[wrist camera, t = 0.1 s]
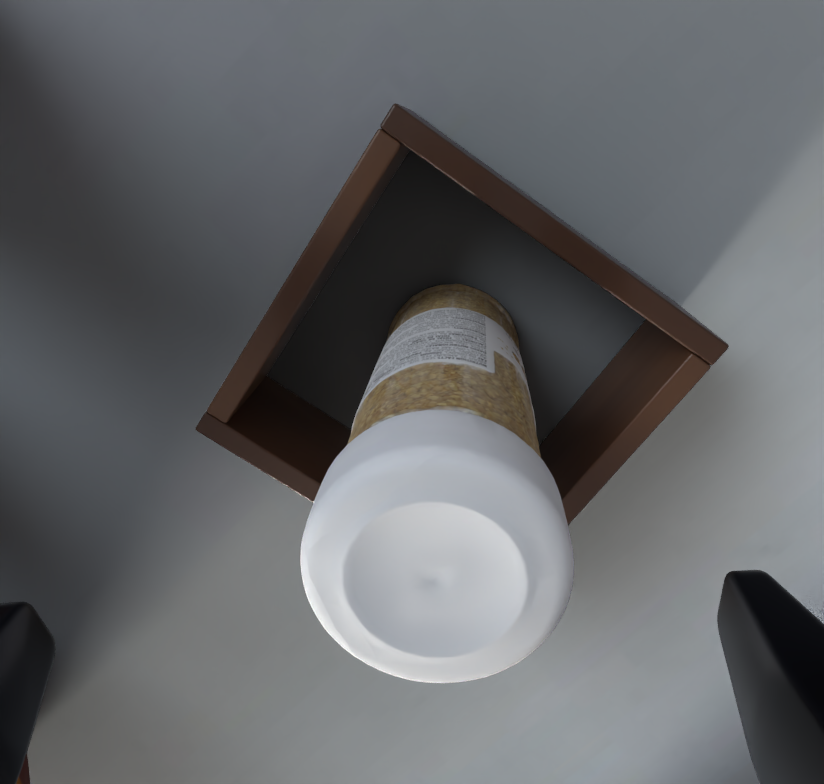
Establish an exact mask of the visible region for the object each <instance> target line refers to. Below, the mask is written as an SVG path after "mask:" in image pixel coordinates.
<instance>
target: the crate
mask: <svg viewBox="0 0 824 784" xmlns="http://www.w3.org/2000/svg"><path fill="white" fill-rule="evenodd" d="M410 150H411V151H413V152H414V153H416V154H417V155H418V156H420V157H421V158H422V159H424V160H425V161H427V162H428V163H429V164H431V165H432V166H434V167H435V168H436V169H438V170H439V171H441V172H442V173H443V174H445V175H446V176H448V177H449V178H450V179H452V180H453V181H455V182H456V183H457V184H459V185H460V186H461V187H463V188H464V189H466V190H467V191H468V192H470V193H471V194H473V195H474V196H475V197H477V198H478V199H480V200H481V201H482V202H484V203H485V204H487V205H488V206H489V207H491V208H492V209H494V210H495V211H496V212H498V213H499V214H500V215H502V216H503V217H505V218H506V219H507V220H509V221H510V222H512V223H513V224H514V225H516V226H517V227H519V228H520V229H521V230H523V231H524V232H526V233H527V234H528V235H530V236H531V237H532V238H534V239H535V240H537V241H538V242H539V243H541V244H542V245H544V246H545V247H546V248H548V249H549V250H551V251H552V252H553V253H555V254H556V255H558V256H559V257H560V258H562V259H563V260H565V261H566V262H567V263H569V264H570V265H571V266H573V267H574V268H576V269H577V270H578V271H580V272H581V273H583V274H584V275H585V276H587V277H588V278H590V279H591V280H592V281H594V282H595V283H597V284H598V285H599V286H601V287H602V288H604V289H605V290H606V291H608V292H609V293H610V294H612V295H613V296H615V297H616V298H617V299H619V300H620V301H622V302H623V303H624V304H626V305H627V306H629V307H630V308H631V309H633V310H634V311H636V312H637V313H638V314H640V315H641V316H642V317H644V318H645V319H646V320H645V321H644V323H643V324H642V325H641V326H640V327H639V328H638V330H637V331H636V332H635V333H634V334H633V336H632V337H631V338H630V339H629V340H628V342H627V343H626V344H625V345H624V346H623V348H622V349H621V350H620V351H619V352H618V353H617V355H616V356H615V357H614V358H613V359H612V361H611V362H610V363H609V364H608V365H607V367H606V368H605V369H604V370H603V371H602V373H601V374H600V375H599V376H598V377H597V378H596V380H595V381H594V382H593V383H592V384H591V386H590V387H589V388H588V389H587V390H586V392H585V393H584V394H583V395H582V396H581V398H580V399H579V400H578V401H577V402H576V403H575V405H574V406H573V407H572V408H571V409H570V411H569V412H568V413H567V414H566V415H565V417H564V418H563V419H562V420H561V421H560V423H559V424H558V425H557V426H556V427H555V428H554V430H553V431H552V432H551V433H550V434H549V436H548V437H547V438H546V439H545V440H544V442H543V443H542V444H541V445H540V446H539V450H540V454H541V459H542V460H543V461H544V463H545V464H546V466H547V468H548V469H549V471H550V472H551V474H552V476H553V478H554V480H555V483H556V485H557V487H558V490H559V493H560V496H561V500H562V504H563V508H564V512H565V516H566V519H567V523H568V525H569V523H570V522H571V521H572V520H573V519H574V518H575V517H576V516H577V515H578V514H579V512H580V511H581V510H582V509H583V508H584V507H585V506H586V505H587V504H588V502H589V501H590V500H591V499H592V498H593V497H594V496H595V495H596V494H597V493H598V491H599V490H600V489H601V488H602V487H603V486H604V485H605V484H606V483H607V481H608V480H609V479H610V478H611V477H612V476H613V475H614V474H615V473H616V472H617V470H618V469H619V468H620V467H621V466H622V465H623V464H624V463H625V462H626V460H627V459H628V458H629V457H630V456H631V455H632V454H633V453H634V452H635V451H636V449H637V448H638V447H639V446H640V445H641V444H642V443H643V442H644V441H645V439H646V438H647V437H648V436H649V435H650V434H651V433H652V432H653V431H654V430H655V428H656V427H657V426H658V425H659V424H660V423H661V422H662V421H663V420H664V418H665V417H666V416H667V415H668V414H669V413H670V412H671V411H672V410H673V409H674V407H675V406H676V405H677V404H678V403H679V402H680V401H681V400H682V399H683V397H684V396H685V395H686V394H687V393H688V392H689V391H690V390H691V389H692V388H693V386H694V385H695V384H696V383H697V382H698V381H699V380H700V379H701V378H702V376H703V375H704V374H705V373H706V372H707V371H708V370H709V369H710V365H713V364H714V363H715V362H716V361H717V360H718V359H719V358H720V356H721V355H722V354H723V353H724V352H725V351H726V350H727V349H728V347H729V346H728V344H727V343H726V342H724V341H723V340H722V339H721V338H719V337H718V336H717V335H716V334H714V333H713V332H712V331H711V330H709V329H708V328H707V327H706V326H704V325H703V324H702V323H701V322H699V321H698V320H697V319H696V318H695V317H693V316H692V315H691V314H690V313H688V312H687V311H686V310H685V309H683V308H682V307H681V306H679V305H678V304H677V303H675V302H674V301H673V300H671V299H670V298H668V297H667V296H666V295H664V294H663V293H662V292H660V291H659V290H657V289H656V288H655V287H653V286H652V285H651V284H649V283H648V282H646V281H645V280H644V279H642V278H641V277H640V276H638V275H637V274H635V273H634V272H633V271H631V270H630V269H629V268H627V267H626V266H625V265H623V264H622V263H620V262H619V261H618V260H616V259H615V258H614V257H612V256H611V255H609V254H608V253H607V252H605V251H604V250H603V249H601V248H600V247H598V246H597V245H596V244H594V243H593V242H592V241H590V240H589V239H587V238H586V237H585V236H583V235H582V234H581V233H579V232H578V231H576V230H575V229H574V228H572V227H571V226H570V225H568V224H567V223H565V222H564V221H563V220H561V219H560V218H559V217H557V216H556V215H554V214H553V213H552V212H550V211H549V210H548V209H546V208H545V207H543V206H542V205H541V204H539V203H538V202H537V201H535V200H534V199H532V198H531V197H530V196H528V195H527V194H526V193H524V192H523V191H521V190H520V189H519V188H517V187H516V186H515V185H513V184H512V183H510V182H509V181H508V180H506V179H505V178H504V177H502V176H501V175H499V174H498V173H497V172H495V171H494V170H493V169H491V168H490V167H488V166H487V165H486V164H484V163H483V162H482V161H480V160H479V159H477V158H476V157H475V156H473V155H472V154H471V153H469V152H468V151H466V150H465V149H464V148H462V147H461V146H460V145H458V144H457V143H455V142H454V141H453V140H451V139H450V138H449V137H447V136H446V135H444V134H443V133H442V132H440V131H439V130H438V129H436V128H435V127H434V126H432V125H431V124H429V123H428V122H427V121H425V120H424V119H423V118H421V117H420V116H418V115H417V114H416V113H414V112H413V111H412V110H410V109H407V108H405V107H403V106H401V105H398V104H394V105H393V106H392V107H391V109H390V110H389V112H388V114H387V115H386V117H385V119H384V120H383V122H382V124H381V129H379V130H377V132H376V133H375V135H374V137H373V138H372V140H371V142H370V143H369V145H368V147H367V148H366V150H365V151H364V153H363V155H362V156H361V158H360V160H359V161H358V163H357V165H356V166H355V168H354V169H353V171H352V173H351V174H350V176H349V178H348V179H347V181H346V183H345V184H344V186H343V188H342V189H341V191H340V192H339V194H338V196H337V197H336V199H335V201H334V202H333V204H332V206H331V207H330V209H329V210H328V212H327V214H326V215H325V217H324V219H323V220H322V222H321V224H320V225H319V227H318V228H317V230H316V232H315V233H314V235H313V237H312V238H311V240H310V242H309V243H308V245H307V246H306V248H305V250H304V251H303V253H302V255H301V256H300V258H299V260H298V261H297V263H296V265H295V266H294V268H293V269H292V271H291V273H290V274H289V276H288V278H287V279H286V281H285V283H284V284H283V286H282V287H281V289H280V291H279V292H278V294H277V296H276V297H275V299H274V301H273V302H272V304H271V305H270V307H269V309H268V310H267V312H266V314H265V315H264V317H263V319H262V320H261V322H260V324H259V325H258V327H257V328H256V330H255V332H254V333H253V335H252V337H251V338H250V340H249V342H248V343H247V345H246V346H245V348H244V350H243V351H242V353H241V355H240V356H239V358H238V360H237V361H236V363H235V364H234V366H233V368H232V369H231V371H230V373H229V374H228V376H227V378H226V379H225V381H224V383H223V384H222V386H221V387H220V389H219V391H218V392H217V394H216V396H215V397H214V399H213V401H212V402H211V404H210V405H209V407H208V409H207V411H206V412H205V413H204V415H203V417H202V418H201V420H200V422H199V423H198V425H197V427H196V430H197V431H198V432H200V433H201V434H203V435H205V436H206V437H208V438H209V439H211V440H213V441H214V442H216V443H218V444H219V445H221V446H222V447H224V448H226V449H227V450H229V451H230V452H232V453H234V454H235V455H237V456H239V457H240V458H242V459H243V460H245V461H247V462H248V463H250V464H251V465H253V466H255V467H256V468H258V469H260V470H261V471H263V472H264V473H266V474H268V475H269V476H271V477H272V478H274V479H276V480H277V481H279V482H280V483H282V484H284V485H285V486H287V487H289V488H290V489H292V490H293V491H295V492H297V493H298V494H300V495H301V496H303V497H305V498H306V499H308V500H310V501H311V502H313V503H314V500H315V497H316V495H317V493H318V490H319V488H320V486H321V483H322V481H323V479H324V477H325V475H326V473H327V471H328V469H329V467H330V466H331V464H332V463H333V461H334V459H335V458H336V457H337V456H338V455H339V453H340V452H341V451H342V450H343V449H344V448H345V447H346V446H347V444H348V441H349V438H350V435H351V431H352V430H350V429H349V428H347V427H345V426H344V425H342V424H341V423H339V422H338V421H336V420H335V419H333V418H331V417H330V416H328V415H327V414H325V413H324V412H322V411H321V410H319V409H317V408H316V407H314V406H313V405H311V404H310V403H308V402H307V401H305V400H303V399H302V398H300V397H299V396H297V395H296V394H294V393H293V392H291V391H289V390H288V389H286V388H285V387H283V386H282V385H280V384H278V383H277V382H275V381H274V380H272V379H271V378H269V377H268V376H267V375H268V373H269V372H270V370H271V368H272V367H273V365H274V364H275V362H276V360H277V359H278V357H279V356H280V354H281V353H282V351H283V349H284V348H285V346H286V345H287V343H288V342H289V340H290V338H291V337H292V335H293V334H294V332H295V331H296V329H297V327H298V326H299V324H300V323H301V321H302V319H303V318H304V316H305V315H306V313H307V312H308V310H309V308H310V307H311V305H312V304H313V302H314V301H315V299H316V297H317V296H318V294H319V293H320V291H321V290H322V288H323V286H324V285H325V283H326V282H327V280H328V279H329V277H330V275H331V274H332V272H333V271H334V269H335V267H336V266H337V264H338V263H339V261H340V260H341V258H342V256H343V255H344V253H345V252H346V250H347V249H348V247H349V245H350V244H351V242H352V241H353V239H354V238H355V236H356V234H357V233H358V231H359V230H360V228H361V227H362V225H363V223H364V222H365V220H366V219H367V217H368V215H369V214H370V212H371V211H372V209H373V208H374V206H375V204H376V203H377V201H378V200H379V198H380V197H381V195H382V193H383V192H384V190H385V189H386V187H387V186H388V184H389V182H390V181H391V179H392V178H393V176H394V174H395V173H396V171H397V170H398V168H399V167H400V165H401V163H402V162H403V160H404V159H405V157H406V156H407V154H408V152H409V151H410Z"/></svg>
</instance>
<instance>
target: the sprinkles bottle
mask: <svg viewBox="0 0 824 784" xmlns="http://www.w3.org/2000/svg"><path fill="white" fill-rule="evenodd" d="M300 563H301V574H302V579H303V584H304V588H305V592H306V595H307V598H308V600H309V603H310V605H311V607H312V609H313V611H314V613H315V615H316V617H317V618H318V620H319V621H320V622H321V624H322V625H323V627H324V628H325V630H326V631H327V632H328V633H329V634H330V635H331V636H332V638H333V639H334V640H335V641H336V642H337V643H339V644H340V645H341V646H342V647H343V648H344V649H345V650H347V651H348V652H349V653H350V654H352V655H353V656H355V657H356V658H358V659H359V660H361V661H363V662H364V663H366V664H368V665H369V666H372V667H374V668H376V669H378V670H380V671H382V672H385V673H388V674H390V675H393V676H396V677H400V678H404V679H408V680H412V681H419V682H427V683H454V682H464V681H469V680H475V679H479V678H483V677H487V676H490V675H493V674H496V673H499V672H501V671H503V670H505V669H507V668H509V667H511V666H513V665H515V664H517V663H518V662H520V661H521V660H523V659H524V658H526V657H527V656H528V655H530V654H531V653H532V652H534V651H535V650H536V649H537V648H538V647H539V646H540V645H541V644H542V643H543V642H544V641H545V640H546V639H547V638H548V637H549V635H550V634H551V633H552V631H553V630H554V629H555V627H556V625H557V624H558V622H559V621H560V619H561V617H562V615H563V613H564V611H565V609H566V607H567V604H568V601H569V598H570V594H571V590H572V586H573V577H574V557H573V547H572V542H571V537H570V532H569V527H568V523H567V519H566V516H565V512H564V508H563V504H562V500H561V496H560V493H559V490H558V487H557V485H556V483H555V480H554V478H553V476H552V474H551V472H550V471H549V469H548V468H547V466H546V464H545V463H544V461H543V460H542V459H541V454H540V450H539V443H538V439H537V434H536V422H535V415H534V409H533V406H532V402H531V397H530V392H529V388H528V384H527V379H526V375H525V370H524V366H523V362H522V358H521V355H520V353H519V341H518V335H517V332H516V328H515V326H514V323H513V321H512V319H511V317H510V315H509V313H508V312H507V311H506V310H505V309H504V308H503V306H502V305H501V304H500V303H499V302H498V301H497V300H496V299H494V298H492V297H491V296H489V295H488V294H487V293H485V292H483V291H481V290H478V289H475V288H473V287H469V286H466V285H462V284H451V285H438V286H435V287H431V288H427V289H425V290H423V291H422V292H420V293H418V294H416V295H414V296H412V297H411V298H410V299H409V300H408V301H407V302H406V303H405V304H404V305H403V306H402V307H401V309H400V310H399V311H398V312H397V314H396V316H395V317H394V319H393V321H392V323H391V325H390V328H389V332H388V336H387V342H386V344H385V346H384V348H383V350H382V352H381V354H380V357H379V359H378V361H377V364H376V366H375V368H374V371H373V373H372V376H371V378H370V381H369V383H368V386H367V388H366V390H365V393H364V395H363V398H362V400H361V403H360V405H359V408H358V410H357V412H356V415H355V418H354V422H353V425H352V431H351V435H350V438H349V441H348V444H347V446H346V447H345V448H344V449H343V450H342V451H341V452H340V453H339V455H338V456H337V457H336V458H335V459H334V461H333V463H332V464H331V466H330V467H329V469H328V471H327V473H326V475H325V477H324V479H323V481H322V483H321V486H320V488H319V490H318V493H317V495H316V497H315V500H314V503H313V506H312V509H311V511H310V514H309V517H308V520H307V523H306V527H305V530H304V534H303V537H302V543H301V554H300Z"/></svg>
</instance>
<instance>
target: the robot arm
mask: <svg viewBox="0 0 824 784" xmlns="http://www.w3.org/2000/svg"><path fill="white" fill-rule="evenodd" d="M717 621H718V630H719V635H720V639H721V643H722V647H723V651H724V655H725V659H726V663H727V666H728V670H729V674H730V678H731V682H732V686H733V690H734V694H735V698H736V702H737V706H738V710H739V714H740V718H741V722H742V726H743V730H744V734H745V738H746V741H747V745H748V749H749V752H750V756H751V760H752V762H753V765H754V768H755V771H756V774H757V777H758V780H759V783H760V784H824V624H823V623H822V622H821V621H820V620H819V619H818V618H816V617H815V616H814V615H813V614H812V613H811V612H810V611H809V610H808V609H807V608H805V607H804V606H803V605H802V604H801V603H800V602H799V601H798V600H797V599H795V598H794V597H793V596H792V595H791V594H790V593H789V592H788V591H787V590H785V589H784V588H783V587H782V586H781V585H780V584H779V583H778V582H777V581H776V580H774V579H773V578H772V577H771V576H770V575H769V574H767V573H765V572H763V571H761V570H745V571H731V572H729V573H728V574H727V575H726V577H725V580H724V584H723V589H722V594H721V599H720V604H719V610H718V617H717ZM55 650H56V646H55V640H54V638H53V636H52V634H51V633H50V631H49V630H48V628H47V627H46V625H45V624H44V622H43V621H42V619H41V618H40V616H39V615H38V613H37V612H36V610H35V609H34V607H33V606H32V605H31V604H29V603H27V602H9V603H0V784H16V782H17V780H18V777H19V774H20V772H21V769H22V766H23V762H24V759H25V756H26V753H27V750H28V747H29V743H30V740H31V736H32V733H33V730H34V726H35V723H36V719H37V716H38V712H39V709H40V706H41V702H42V699H43V695H44V692H45V689H46V685H47V682H48V678H49V675H50V671H51V668H52V665H53V661H54V657H55Z"/></svg>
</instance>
